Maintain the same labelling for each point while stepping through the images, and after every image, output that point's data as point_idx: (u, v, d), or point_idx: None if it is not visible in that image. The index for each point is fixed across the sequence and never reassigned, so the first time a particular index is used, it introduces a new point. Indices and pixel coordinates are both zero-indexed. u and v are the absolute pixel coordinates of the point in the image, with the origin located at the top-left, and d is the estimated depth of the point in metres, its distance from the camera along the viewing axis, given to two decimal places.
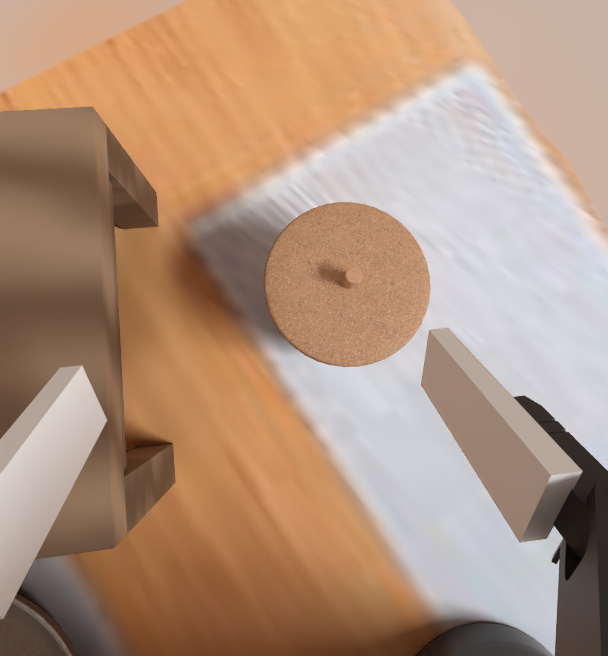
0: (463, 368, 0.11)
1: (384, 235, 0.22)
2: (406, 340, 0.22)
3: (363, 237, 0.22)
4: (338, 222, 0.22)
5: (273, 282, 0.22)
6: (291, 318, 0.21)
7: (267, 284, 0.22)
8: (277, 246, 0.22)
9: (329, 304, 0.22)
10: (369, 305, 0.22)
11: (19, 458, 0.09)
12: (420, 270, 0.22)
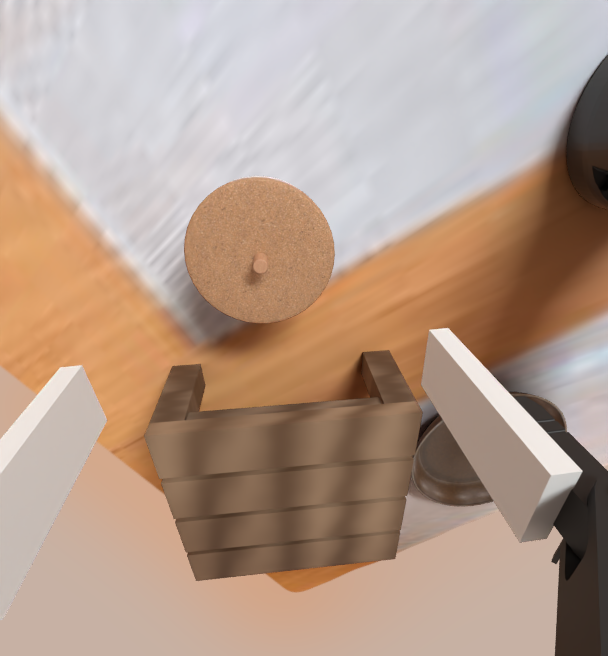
0: (463, 368, 0.11)
1: (216, 224, 0.23)
2: (317, 210, 0.24)
3: (219, 244, 0.24)
4: (206, 265, 0.25)
5: (261, 318, 0.27)
6: (291, 305, 0.27)
7: (263, 321, 0.28)
8: (231, 314, 0.27)
9: (280, 277, 0.26)
10: (283, 243, 0.24)
11: (19, 458, 0.09)
12: (250, 189, 0.23)
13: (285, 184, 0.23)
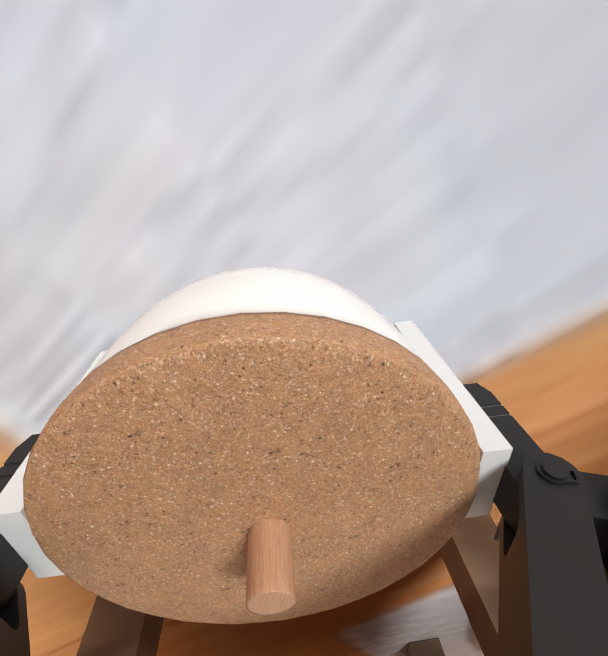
0: None
1: (115, 473, 0.07)
2: (450, 406, 0.07)
3: (138, 515, 0.08)
4: (106, 558, 0.08)
5: (272, 617, 0.11)
6: (348, 593, 0.10)
7: (276, 619, 0.11)
8: (194, 620, 0.10)
9: (325, 555, 0.09)
10: (337, 493, 0.08)
11: None
12: (227, 374, 0.06)
13: (353, 344, 0.06)
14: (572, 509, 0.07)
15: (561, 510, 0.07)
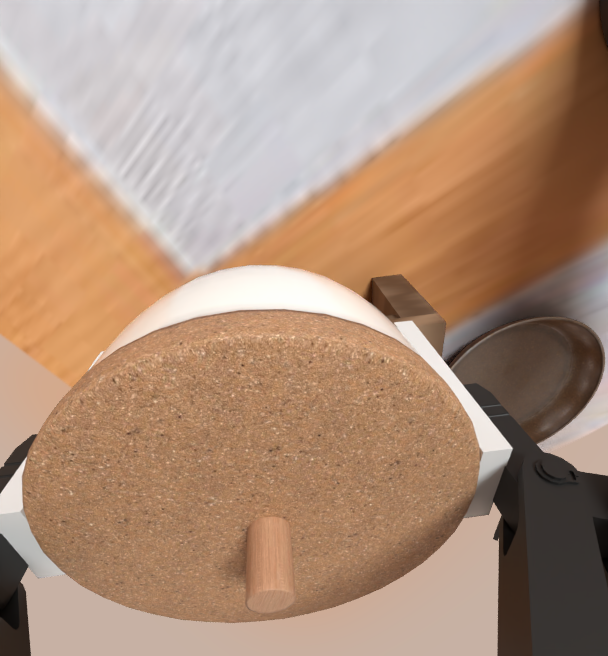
0: None
1: (114, 470, 0.07)
2: (450, 403, 0.07)
3: (138, 512, 0.08)
4: (105, 557, 0.08)
5: (272, 616, 0.11)
6: (348, 592, 0.10)
7: (275, 618, 0.11)
8: (194, 619, 0.10)
9: (325, 553, 0.09)
10: (337, 491, 0.08)
11: None
12: (226, 371, 0.06)
13: (353, 341, 0.06)
14: (572, 509, 0.07)
15: (560, 510, 0.07)
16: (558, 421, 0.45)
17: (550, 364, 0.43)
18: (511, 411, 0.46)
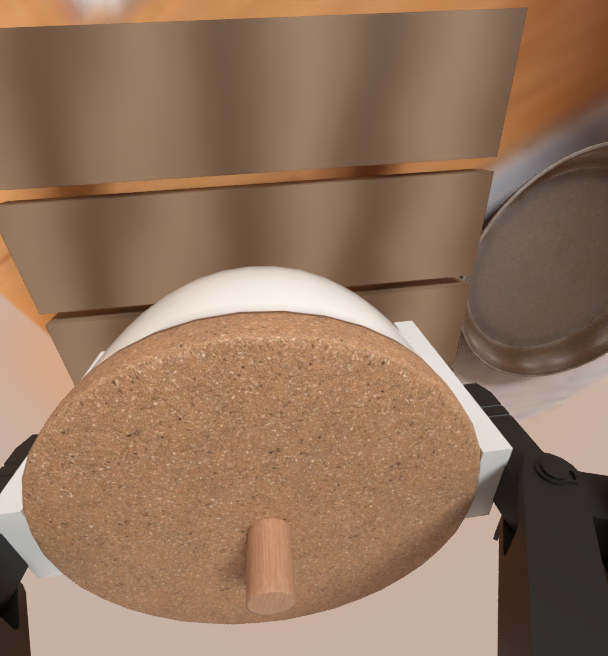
0: None
1: (114, 473, 0.07)
2: (451, 405, 0.07)
3: (137, 515, 0.07)
4: (105, 558, 0.08)
5: (272, 617, 0.11)
6: (348, 593, 0.10)
7: (276, 619, 0.11)
8: (194, 620, 0.10)
9: (325, 555, 0.09)
10: (337, 493, 0.08)
11: None
12: (226, 373, 0.06)
13: (353, 343, 0.06)
14: (572, 509, 0.07)
15: (561, 510, 0.07)
16: None
17: None
18: (558, 317, 0.34)
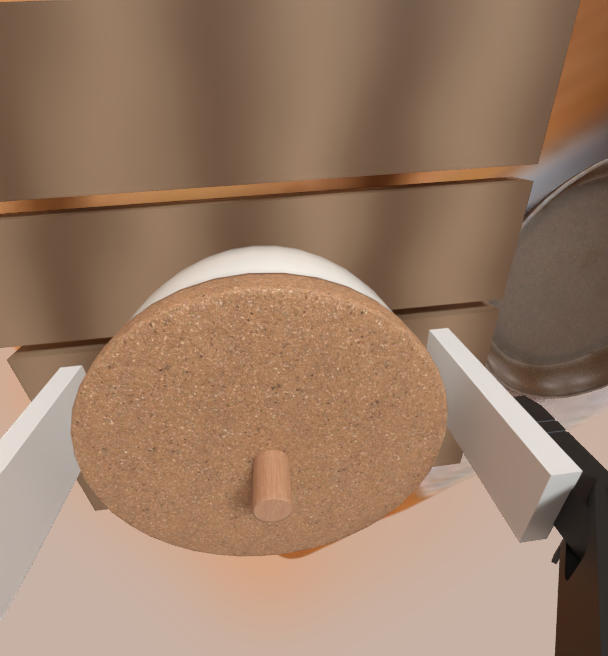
0: (463, 368, 0.11)
1: (147, 403, 0.09)
2: (418, 351, 0.09)
3: (164, 442, 0.09)
4: (135, 483, 0.10)
5: (273, 550, 0.12)
6: (339, 527, 0.12)
7: (276, 553, 0.13)
8: (206, 550, 0.12)
9: (318, 487, 0.11)
10: (327, 427, 0.10)
11: (19, 458, 0.09)
12: (238, 318, 0.08)
13: (338, 296, 0.08)
14: None
15: None
16: None
17: None
18: (581, 333, 0.32)
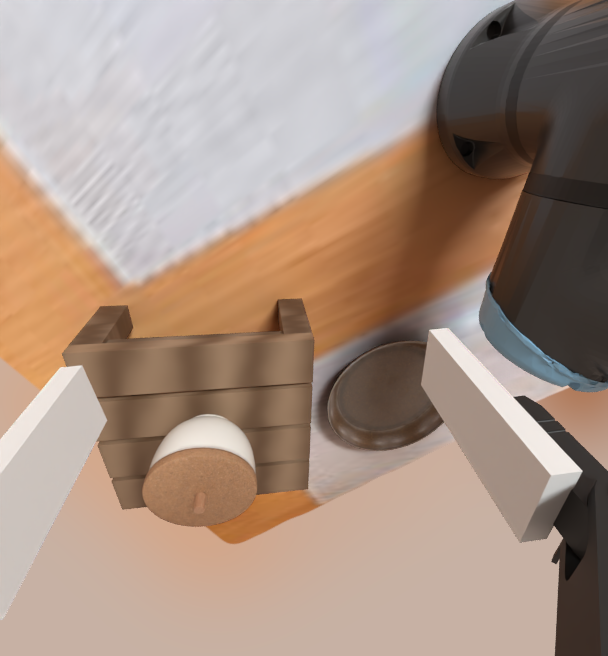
0: (463, 368, 0.11)
1: (166, 480, 0.32)
2: (241, 467, 0.33)
3: (169, 490, 0.32)
4: (159, 501, 0.33)
5: (203, 524, 0.36)
6: (225, 516, 0.36)
7: (204, 525, 0.36)
8: (179, 523, 0.35)
9: (216, 503, 0.34)
10: (217, 486, 0.33)
11: (19, 458, 0.09)
12: (191, 462, 0.31)
13: (217, 456, 0.32)
14: None
15: None
16: (432, 424, 0.56)
17: None
18: (396, 415, 0.57)
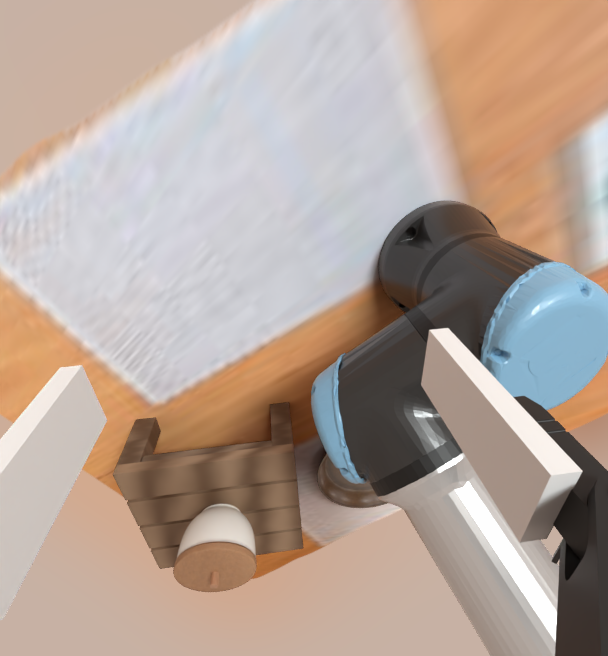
0: (463, 368, 0.11)
1: (189, 565, 0.44)
2: (243, 554, 0.45)
3: (192, 571, 0.45)
4: (185, 578, 0.46)
5: (218, 590, 0.48)
6: (234, 585, 0.48)
7: None
8: None
9: (227, 577, 0.47)
10: (226, 567, 0.45)
11: (19, 458, 0.09)
12: (206, 553, 0.44)
13: (224, 548, 0.44)
14: None
15: None
16: None
17: None
18: None
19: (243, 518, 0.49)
